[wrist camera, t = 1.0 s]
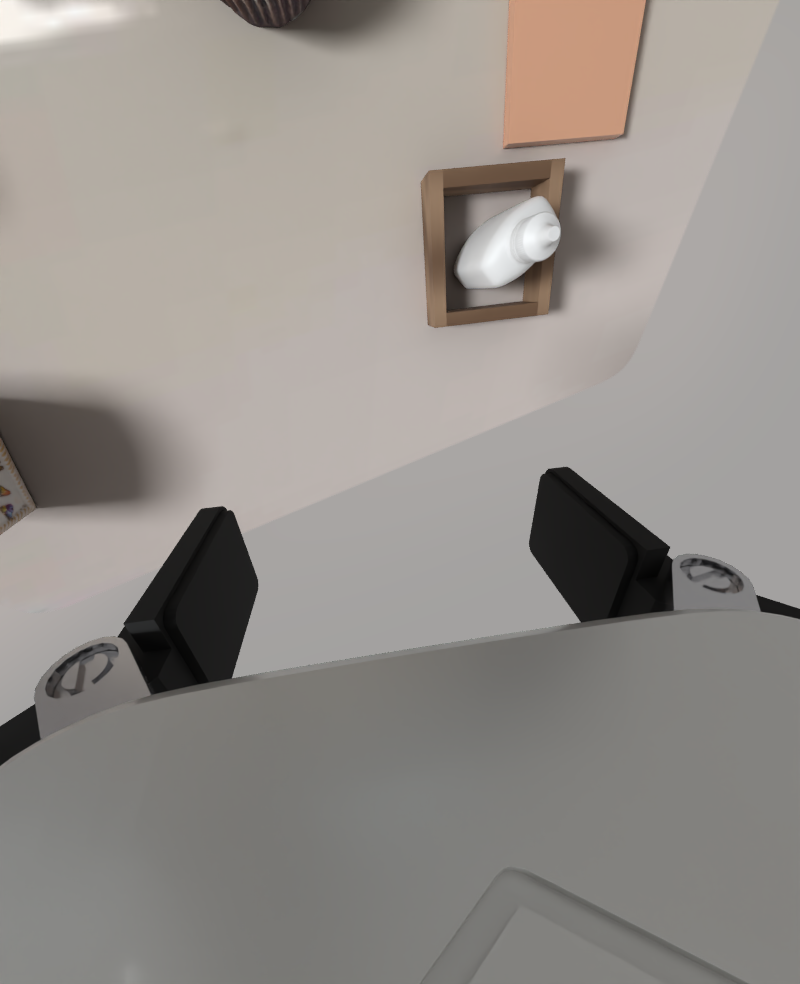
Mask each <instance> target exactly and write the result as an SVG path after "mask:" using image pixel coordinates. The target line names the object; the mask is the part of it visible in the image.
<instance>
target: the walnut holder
mask: <svg viewBox="0 0 800 984" xmlns="http://www.w3.org/2000/svg"><path fill="white" fill-rule="evenodd" d="M564 166H565V158H563V159H552V160H541V161H530V162H519V163H508V164H497V165H486V166H475V167H464V168H453V169H442V170H431V171H428V173H427V174H426V176H425V177H424V178H423V180H422V181H421V196H422V216H423V236H424V256H425V276H426V296H427V316H428V325H429V326H432V327H434V328H438V327H446V326H454V325H462V324H470V323H479V322H487V321H495V320H503V319H511V318H519V317H528V316H536V315H544V314H548V311H549V302H550V293H551V284H552V275H553V266H554V257H555V252H553V254H552V255H551V256H550V257H548V258H547V259H546V260H543V261H539V262H535V263H534V264H533V265H532V266H531V267H530V268H529V269H528V270H527V271H526V272H525V279H524V292H523V301H521V302H513V303H504V304H496V305H488V306H479V307H471V308H463V309H454V310H446V278H445V237H444V197H447V196H458V195H468V194H478V193H489V192H499V191H510V190H520V189H530V188H531V198H533V197H536V196H543V197H544V198H546V199H547V201H548V202H549V204H550V205H551V207H552V209H553V210H554V212H555V214H556V217H557V218H558V220H559V211H560V202H561V193H562V184H563V175H564Z"/></svg>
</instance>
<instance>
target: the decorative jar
mask: <svg viewBox="0 0 800 984" xmlns="http://www.w3.org/2000/svg"><path fill="white" fill-rule="evenodd" d="M35 508H36V506H35V504H34V502H33V499H32V497H31V496H30V494H29V492H28V491H27V488H26V487H25V484H24V482H23V480H22V478H21V477H20V475H19V473H18V471H17V469H16V467H15V465H14V463H13V461H12V459H11V457H10V455H9V453H8V451H7V449H6V447H5V445H4V443H3V441H2V439H1V437H0V535H1V534H2V533H3V532H5V531H6V530H8V529H9V528H10V527H12V526H13V525H14V524H16V523H17V522H19V521H20V520H21V519H23V518H24V517H25V516H27V515H28V514H29V513H31V512H32V511H34V510H35Z"/></svg>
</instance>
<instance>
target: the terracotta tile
mask: <svg viewBox="0 0 800 984" xmlns="http://www.w3.org/2000/svg"><path fill="white" fill-rule="evenodd" d="M645 3H646V0H509V20H508V44H507V68H506V92H505V116H504V140H503V149H505V148H517V147H528V146H539V145H551V144H562V143H574V142H585V141H596V140H608V139H615V138H617V137H619V136H620V135H622V134H623V133H624V127H625V121H626V115H627V109H628V103H629V97H630V91H631V86H632V80H633V74H634V68H635V62H636V56H637V50H638V44H639V38H640V33H641V27H642V21H643V15H644V9H645Z"/></svg>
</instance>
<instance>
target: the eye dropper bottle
mask: <svg viewBox="0 0 800 984" xmlns="http://www.w3.org/2000/svg"><path fill="white" fill-rule="evenodd" d="M560 238H561V227H560V222H559V220H558V218H557V217H556V214H555V212H554V210H553V209H552V207H551V205H550V204H549V202H548V201H547V199H546V198H544V197H543V196H536V197H533V198H531V199H528V200H526V201H524V202H522V203H520V204H518V205H516V206H514V207H512V208H510V209H508V210H506V211H504V212H502V213H500V214H498V215H496V216H494V217H492V218H490V219H489V220H487V221H486V222H485V223H483V224H482V225H481V226H480V227H478V228H477V229H476V230H475V231H474V232H473V233H472V235H471V236H470V237H469V238H468V240H467V241H466V242H465V244H464V245H463V247H462V249H461V251H460V253H459V255H458V257H457V259H456V262H455V265H454V274H455V276H456V277H457V278H458V280H459V281H460V282H461V283H462V285H463V286H464V287H465V288H467V289H482V288H498V287H501V286H503V285H506V284H508V283H510V282H511V281H513V280H515V279H516V278H518V277H519V276H521V275H522V274H523V273H524V272H526V271H527V270H528V269H529V268H530V267H531V266H532V265H533V264H534V263H535V262H539V261H543V260H546V259H547V258H548V257H550V256H551V255H552V254H553V252H555V250H556V248H557V246H558V244H559V241H560Z"/></svg>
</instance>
